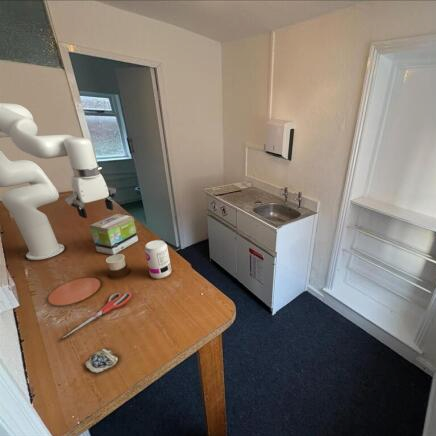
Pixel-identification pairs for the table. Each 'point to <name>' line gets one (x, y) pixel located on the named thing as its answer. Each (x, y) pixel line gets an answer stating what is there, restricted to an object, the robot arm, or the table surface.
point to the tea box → (114, 233)
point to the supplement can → (158, 259)
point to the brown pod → (118, 272)
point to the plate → (74, 291)
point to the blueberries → (101, 361)
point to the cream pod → (116, 261)
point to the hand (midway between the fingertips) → (97, 213)
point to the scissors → (107, 307)
